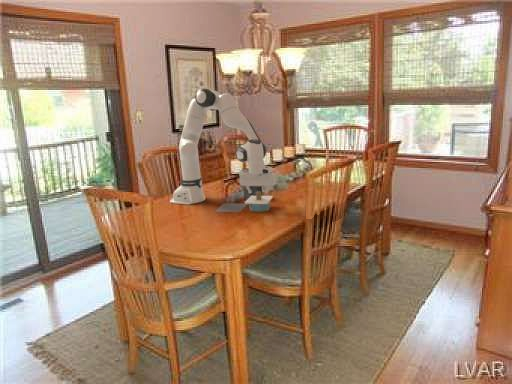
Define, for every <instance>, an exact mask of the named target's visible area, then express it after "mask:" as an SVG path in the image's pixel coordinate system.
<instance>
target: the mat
mask: <svg viewBox="0 0 512 384" xmlns="http://www.w3.org/2000/svg"><path fill="white" fill-rule="evenodd" d="M247 205H248V204H245V203H222V204H221V205H220V206H219V207H218V208H217V209H216V210H215V211H214V212H217V213H241V211H242V210H243V209H245V207H247Z"/></svg>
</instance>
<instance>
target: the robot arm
mask: <svg viewBox="0 0 512 384" xmlns="http://www.w3.org/2000/svg"><path fill="white" fill-rule="evenodd" d="M208 111H219V115H220V118H221V120H222V122H223V123H224V125H226V126H227V127H229V128H231V129H236V130H240V131H242V132H244V134H245V135H246V137H247V139H248V140H247V142H246V143H244V144H242V145H239V146H238V147H237V148H236V150H235V156H236V159H237V161H239V162H241V163H247V166H248V168H247V169H243V168H242V169H240V170H239V172H238V175H239V185H240V186H241V187H244V186H246V188H247V190H248V193H252V190H250V188H249V187H250V186H262V187H265V188H266V189H264V194H265V195H267V194H268V193H269V189H270V188H271V187H274V186H275V185H276V176H275V173H274V168H273V167H271V166H268V165H265V162H264V158H265V157H266V155H267V148H266V145H265V144H264V142H263V141H262V140H261V139H260V136H259V135H258V134H257V132H256V130H255V128H254V127H253V125H252V123H251V122H250V119H248V118H246V116H244V115H243V113H242V112H241V111H240V108H239V106H238V103H237V102H236V100H235V99H234V97H233V96H232V94H231V93H222V92H220V91H217V90H215V89H209V88H201V89H199V90H197V92H196V93H195V97H194V98H193V99H192V100H191V101H190V103H189V105H188V108H187V112H186V114H185V115H186V116H185V120H184V124H183V128H182V132H181V136H180V140H179V144H178V150H179V151H178V152H179V160H180V167H181V168H180V169H181V174H182V175H181V176H182V179H181V180H179V184H180V185H179V186H178V187H177V188H176V189H175V190H174V191H173V194H172V197H171V199H169V200H170V201H169V203H170V204H178V205H179V204H180V205H193V204H197V203H202V202H204V201H206V196H205V193H204V190H203V181H202V175H201V169H200V158H199V157H200V156H199V148H198V144H199V140H200V138H201V134H202V130H203V127H204V123H205V119H206V114H207V112H208Z"/></svg>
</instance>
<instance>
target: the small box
mask: <svg viewBox="0 0 512 384" xmlns="http://www.w3.org/2000/svg"><path fill="white" fill-rule="evenodd" d="M249 188H250V190H252V193H248V190H247V188H246V186H243V189H244V201H246V200H247V199H248V198H249V197H250V196H256V192H261V196H263V186H250V187H249Z"/></svg>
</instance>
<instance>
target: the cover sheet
mask: <svg viewBox="0 0 512 384" xmlns="http://www.w3.org/2000/svg"><path fill="white" fill-rule="evenodd" d="M273 198H274V195H262V196H261V192H256V196H250V197H249V198H248V199H247V200H244V203H243V204H247V205H249V204H268V203H269V201H270V202H271V200H272V199H273Z"/></svg>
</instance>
